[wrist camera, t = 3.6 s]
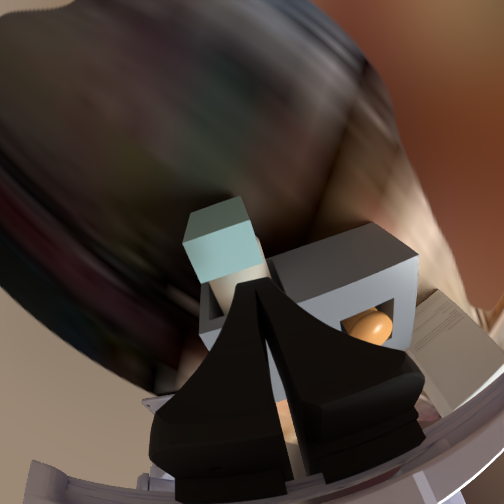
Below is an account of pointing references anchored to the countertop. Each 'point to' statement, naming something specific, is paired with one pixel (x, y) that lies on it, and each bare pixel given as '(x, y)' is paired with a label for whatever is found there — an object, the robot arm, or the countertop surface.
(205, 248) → the cartridge
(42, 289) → the countertop surface
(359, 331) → the plunger
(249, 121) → the countertop surface
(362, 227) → the housing
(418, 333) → the supplement box
